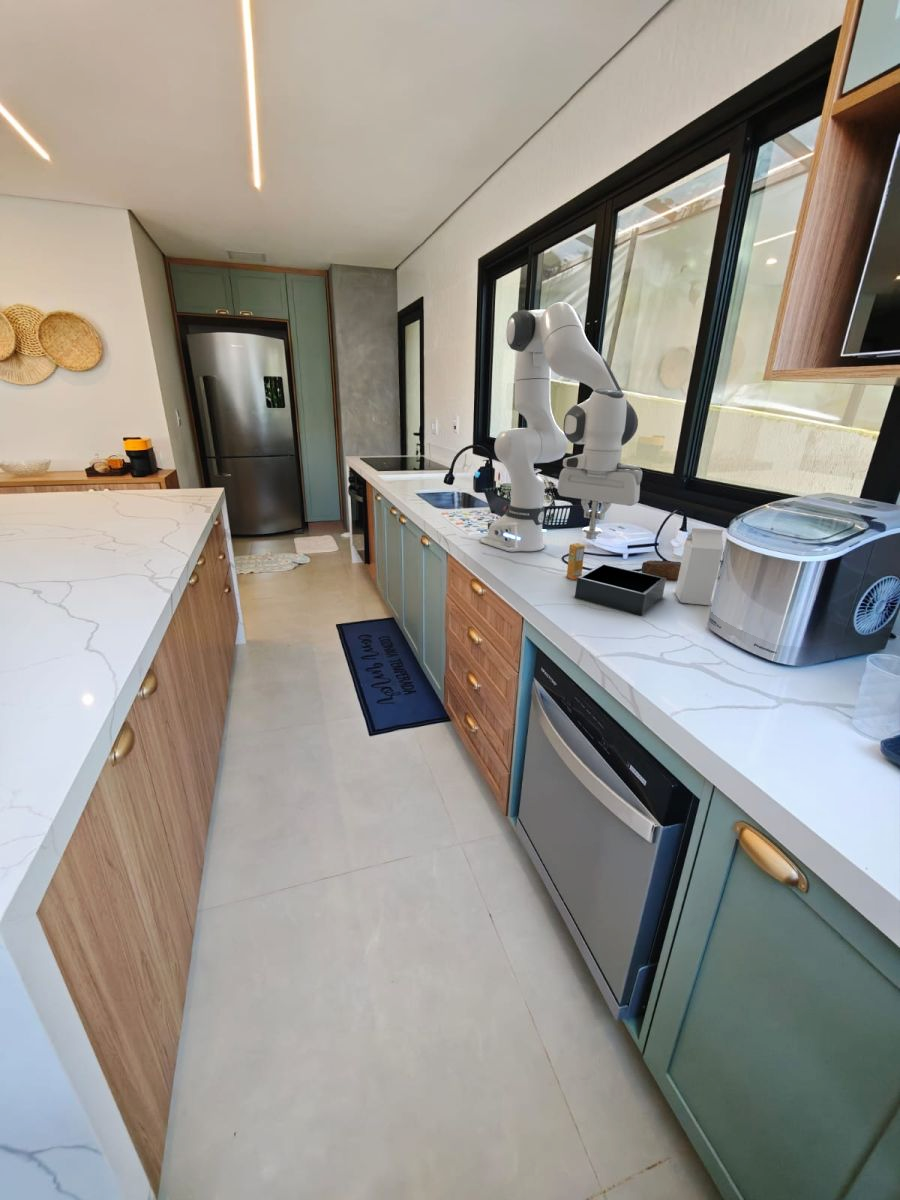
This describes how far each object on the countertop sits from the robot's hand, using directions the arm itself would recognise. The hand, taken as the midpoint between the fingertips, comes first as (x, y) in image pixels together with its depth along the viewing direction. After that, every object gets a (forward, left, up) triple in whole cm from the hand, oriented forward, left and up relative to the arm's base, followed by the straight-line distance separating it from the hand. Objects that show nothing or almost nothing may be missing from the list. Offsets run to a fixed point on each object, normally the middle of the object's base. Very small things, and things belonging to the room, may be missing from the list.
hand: (593, 518), depth 127 cm
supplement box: (-8, +10, -21) cm, 24 cm away
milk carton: (+23, +16, -21) cm, 35 cm away
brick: (+11, +28, -21) cm, 36 cm away
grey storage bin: (+8, +4, -21) cm, 22 cm away
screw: (0, 0, -5) cm, 5 cm away
